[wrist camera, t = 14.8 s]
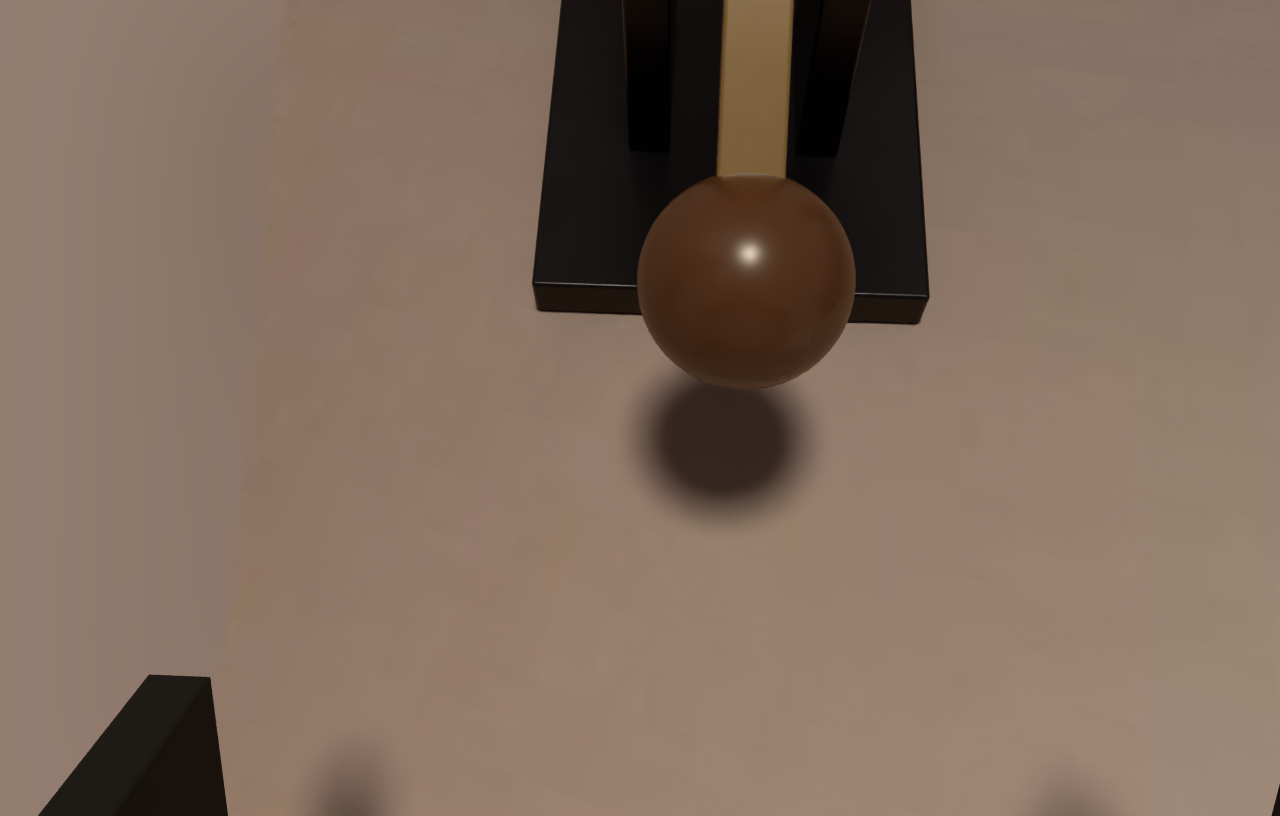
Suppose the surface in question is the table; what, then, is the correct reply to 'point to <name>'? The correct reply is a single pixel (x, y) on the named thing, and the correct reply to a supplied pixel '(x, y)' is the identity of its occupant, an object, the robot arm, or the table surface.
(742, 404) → the table surface
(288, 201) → the table surface
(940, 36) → the table surface
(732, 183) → the switch lever
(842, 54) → the switch bracket
